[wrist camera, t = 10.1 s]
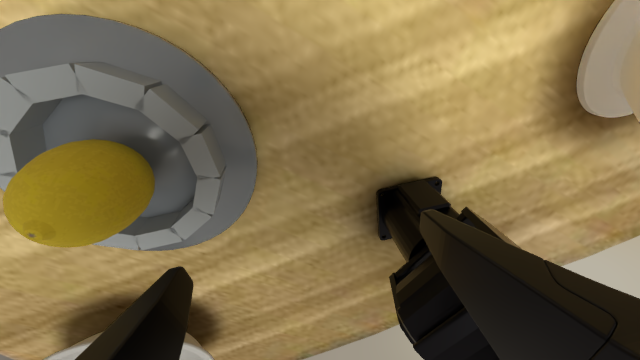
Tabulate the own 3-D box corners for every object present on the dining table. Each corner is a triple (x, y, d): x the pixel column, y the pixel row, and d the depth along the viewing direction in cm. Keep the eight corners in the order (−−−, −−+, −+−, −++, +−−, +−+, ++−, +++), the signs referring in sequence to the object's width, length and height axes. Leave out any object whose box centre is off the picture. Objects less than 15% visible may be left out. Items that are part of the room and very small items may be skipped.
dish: (187, 271, 25) (167, 319, 20) (244, 337, 32) (239, 382, 28) (27, 321, 25) (-27, 379, 20) (121, 375, 32) (96, 426, 28)
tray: (280, 220, 23) (280, 242, 20) (93, 262, 22) (68, 290, 20) (206, -10, 14) (189, -23, 11) (-118, 46, 13) (-216, 46, 10)
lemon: (176, 137, 17) (102, 199, 10) (170, 199, 19) (107, 284, 12) (83, 112, 15) (-81, 166, 8) (89, 183, 18) (-36, 270, 11)
